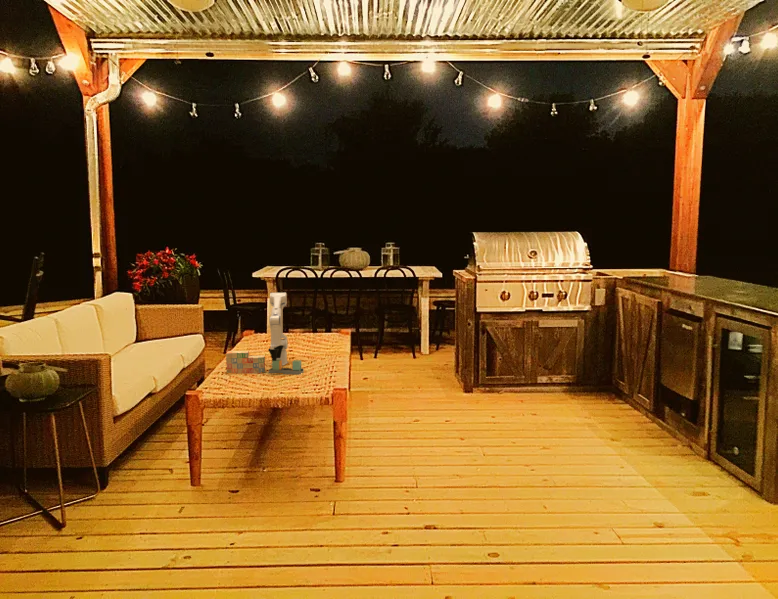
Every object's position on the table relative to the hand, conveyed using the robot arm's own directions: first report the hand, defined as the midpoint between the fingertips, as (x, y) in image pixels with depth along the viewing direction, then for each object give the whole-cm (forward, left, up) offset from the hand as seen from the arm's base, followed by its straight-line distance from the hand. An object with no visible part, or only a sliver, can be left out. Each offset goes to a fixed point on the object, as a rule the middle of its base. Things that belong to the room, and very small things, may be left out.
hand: (276, 359), depth 372 cm
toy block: (0, 0, -7) cm, 7 cm away
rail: (0, +6, -8) cm, 10 cm away
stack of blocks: (+2, -18, -8) cm, 20 cm away
